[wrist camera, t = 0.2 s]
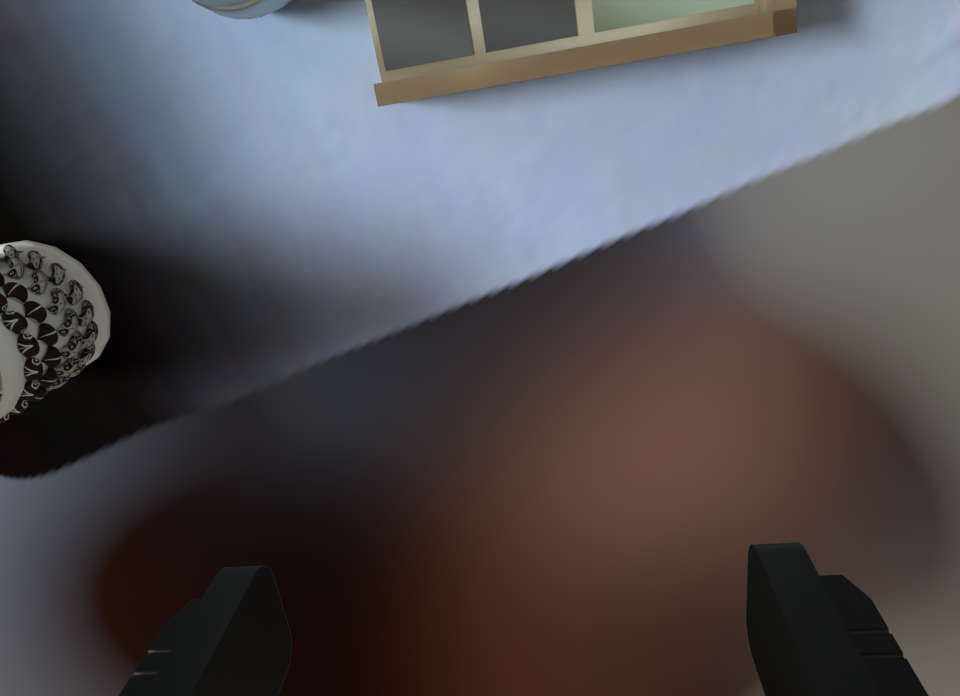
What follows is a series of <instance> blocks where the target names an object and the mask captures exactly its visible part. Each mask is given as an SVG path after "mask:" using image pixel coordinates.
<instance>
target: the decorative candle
mask: <svg viewBox="0 0 960 696" xmlns="http://www.w3.org/2000/svg"><path fill="white" fill-rule="evenodd" d="M110 316H111V312H110V309H109V307H108V304H107V302H106V299H105V296H104V294H103V291H102V289H101V286H100V285H99V284H98V283H97V281H96V280H95V279H94V278H93V277H92V275H91V274H90V273H89V272H88V271H87V269H86V268H85V267H84V266H83V265H82V263H80V262H79V261H77V260H76V259H74V258H73V257H71V256H69V255H68V254H66V253H65V252H63V251H62V250H60V249H58V248H57V247H55V246H51V245H46V244H42V243H38V242H34V241H30V240H24V241H18V242H12V243H6V244H1V245H0V423H2V422H5V421H7V420H8V419H9V417H10V414H11V415H18V414H21V413H22V412H24V411H25V410H26V409H27V407H28V403H29V401H39V400H41V399H42V398H43V397H44V396H45V395H46V394H47V393H48V392H50V391H51V390H52V389H56V388H58V387H61V386H62V385H64V384H65V383H66V382H67V381H68V379H69V377H73V376H76V375H78V374H79V373H81V372H82V370H83V369H84V368H85V366H86V365H88V364H89V363H91V362H92V361H94V360H96V359H97V358H98V357H100V355H101V353H102V351H103V349H104V347H105V345H106V344H107V342H108V340H109V338H110Z"/></svg>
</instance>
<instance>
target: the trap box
mask: <svg viewBox="0 0 960 696" xmlns="http://www.w3.org/2000/svg"><path fill="white" fill-rule="evenodd" d="M365 3H366V8H367V13H368V17H369V22H370V27H371V32H372V37H373V42H374V47H375V51H376V56H377V61H378V66H379V71H380V76H381V81H382V83H378V84H374V89H375V94H376V99H377V103H378V107H379V106H385V105H390V104H396V103H402V102H407V101H413V100H419V99H424V98H430V97H435V96H441V95H447V94H452V93H458V92H464V91H469V90H475V89H481V88H486V87H492V86H497V85H503V84H509V83H514V82H520V81H526V80H531V79H537V78H543V77H548V76H554V75H559V74H565V73H571V72H576V71H582V70H588V69H593V68H599V67H604V66H610V65H616V64H621V63H627V62H633V61H638V60H644V59H650V58H655V57H661V56H666V55H672V54H678V53H683V52H689V51H695V50H700V49H706V48H712V47H717V46H723V45H728V44H734V43H740V42H745V41H751V40H757V39H762V38H768V37H774V36H779V35H785V34H790V33H796V32H797V0H365Z"/></svg>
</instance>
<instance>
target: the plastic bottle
mask: <svg viewBox="0 0 960 696" xmlns="http://www.w3.org/2000/svg"><path fill="white" fill-rule="evenodd" d="M192 1H194V2H195V3H196V4H198V5H200V6H202V7H204V8H206V9H208V10H210V11H213V12H215V13H217V14H219V15H221V16H225V17H229V18H233V19H253V18H257V17H262V16H265V15H267V14H270V13H272V12H274V11H276V10H278V9H281V8H282V7H284V6H285V5H286V4H288V3H289V2H290V1H291V0H192Z"/></svg>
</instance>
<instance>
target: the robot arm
mask: <svg viewBox="0 0 960 696" xmlns="http://www.w3.org/2000/svg"><path fill="white" fill-rule="evenodd" d="M747 568H748V569H747V600H746V627H747V635H748V641H749V646H750V651H751V655H752V658H753V661H754V664H755V667H756V670H757V673H758V676H759V679H760V682H761V685H762V688H763V690H764V694H765V696H928V694H927V693H926V691H925V689H924V687H923V686H922V684H921V682H920V681H919V679H918V677H917V676H916V674H915V672H914V671H913V669H912V667H911V666H910V664H909V662H908V660H907V659H904V657H903V652H902V650H901V649H900V647H899V645H898V644H897V642H896V640H895V639H894V637H893V635H892V634H889V631H888V627H887V625H886V623H885V622H884V620H883V618H882V617H881V615H880V613H879V612H878V610H877V608H876V607H875V605H874V603H873V601H872V600H871V599H870V598H869V597H868V596H867V595H866V594H864V593H863V592H862V591H861V590H860V589H858V588H857V587H856V586H855V585H854V584H852V583H851V582H850V581H849V580H848V579H846V578H845V577H844V576H843V575H828V576H819V575H818V573H817V571H816V569H815V567H814V565H813V563H812V561H811V559H810V558H809V555H808V554H807V552H806V550H805V548H804V547H803V545H802V544H801V543H799V542H794V543H773V544H752V545H750V546H749V550H748V567H747ZM291 649H292V642H291V634H290V629H289V626H288V623H287V619H286V616H285V613H284V609H283V606H282V603H281V600H280V596H279V593H278V590H277V586H276V583H275V580H274V576H273V574H272V572H271V570H270V569H269V567H267V566H253V567H229V568H223V569H221V570H220V571H219V572H218V573H217V575H216V576H215V578H214V579H213V581H212V583H211V584H210V586H209V588H208V589H207V591H206V593H205V595H204V596H203V598H202V599H201V600H191V601H190V602H189V603H188V604H186V605H185V606H184V607H183V608H182V609H181V610H180V611H179V612H177V613H176V614H175V615H174V616H173V617H172V618H171V619H170V620H169V621H167V622H166V623H165V625H164V626H163V628H162V629H161V631H160V633H159V634H158V636H157V637H156V639H155V640H154V642H153V643H152V645H151V646H150V648H149V650H148V655H145V656H144V657H143V659H142V660H141V662H140V663H139V665H138V667H137V668H136V670H135V672H134V677H133V678H130V679H129V681H128V682H127V684H126V685H125V687H124V689H123V690H122V691H121V693H120V695H119V696H278V694H279V691H280V689H281V686H282V684H283V681H284V679H285V676H286V674H287V671H288V668H289V664H290V658H291Z"/></svg>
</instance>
